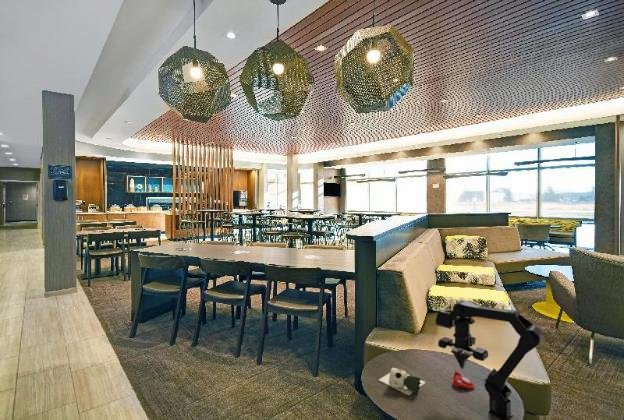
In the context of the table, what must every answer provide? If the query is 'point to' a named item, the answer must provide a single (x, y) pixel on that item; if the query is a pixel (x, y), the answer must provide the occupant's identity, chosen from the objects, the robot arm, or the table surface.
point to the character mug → (404, 380)
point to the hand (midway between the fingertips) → (462, 368)
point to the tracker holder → (462, 381)
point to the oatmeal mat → (404, 390)
